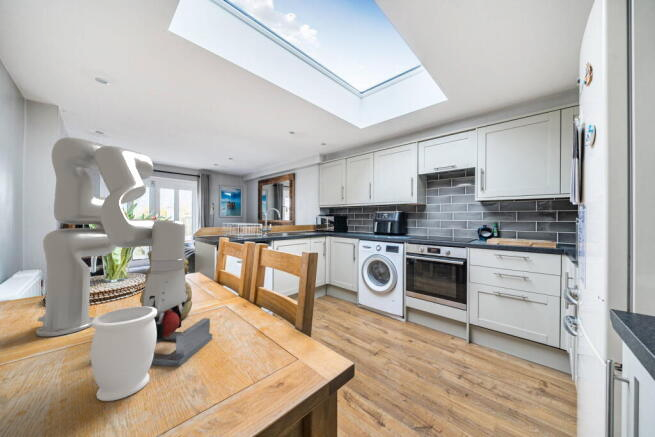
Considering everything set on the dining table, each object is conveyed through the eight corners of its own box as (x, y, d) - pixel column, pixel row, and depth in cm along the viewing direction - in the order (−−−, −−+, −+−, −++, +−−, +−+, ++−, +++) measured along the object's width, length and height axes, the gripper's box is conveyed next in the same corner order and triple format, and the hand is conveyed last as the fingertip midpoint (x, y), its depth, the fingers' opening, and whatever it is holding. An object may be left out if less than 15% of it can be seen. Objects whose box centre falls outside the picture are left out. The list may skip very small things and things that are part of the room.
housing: (94, 361, 59) (95, 334, 59) (142, 334, 73) (143, 313, 73) (179, 366, 57) (180, 339, 57) (212, 338, 71) (212, 316, 71)
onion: (166, 343, 61) (167, 312, 61) (147, 341, 62) (148, 310, 63) (184, 333, 67) (184, 304, 67) (166, 331, 68) (167, 303, 68)
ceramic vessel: (203, 309, 94) (204, 245, 95) (172, 332, 75) (175, 251, 75) (159, 309, 94) (161, 245, 94) (116, 332, 74) (119, 251, 75)
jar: (117, 372, 55) (120, 305, 55) (165, 370, 55) (167, 305, 56) (72, 408, 44) (75, 325, 44) (132, 405, 45) (135, 324, 45)
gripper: (177, 260, 74) (175, 319, 74) (126, 271, 57) (123, 348, 56) (200, 261, 73) (199, 320, 73) (155, 272, 56) (153, 350, 56)
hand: (166, 332), depth 65 cm, fingers closed on onion, 5 cm apart
